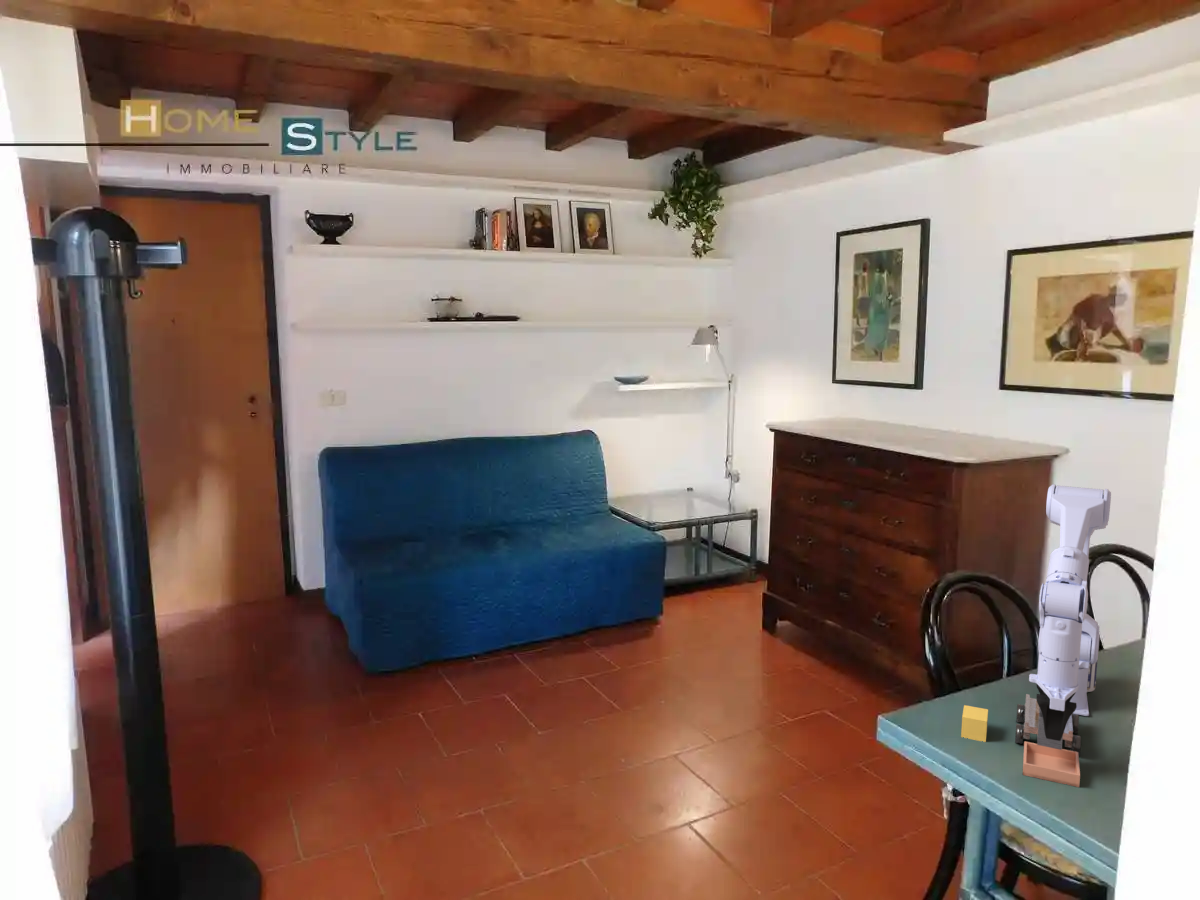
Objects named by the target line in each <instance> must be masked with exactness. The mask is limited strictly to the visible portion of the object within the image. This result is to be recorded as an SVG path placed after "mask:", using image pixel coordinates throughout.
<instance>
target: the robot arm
mask: <svg viewBox="0 0 1200 900" xmlns="http://www.w3.org/2000/svg"><path fill="white" fill-rule="evenodd" d="M1111 499H1112V491H1110V490H1109V488H1104V489H1101V488H1093V487H1091V488H1089V487H1082V486H1081V487H1080V486H1067V485H1056V484H1054V483H1053V484H1051V485H1050V486H1049V487H1048V489H1047V494H1046V507H1045V508H1046V509H1045V513H1046V516H1047V518H1048V520H1049V522H1050V523H1051V524H1054V525H1056V526H1059V547H1057V548H1055V549H1054V550H1053V551H1051V553H1050V554H1049V560H1048V566H1047V572H1046V579H1045V583H1044V582H1042V583H1041V585H1040V590H1039V600H1038V601H1039V602H1038V610H1039V627H1040V628H1039V634H1038V642H1037V644H1038V645H1037V649H1038V662H1037V663H1038V664H1037V673H1036V674H1035V673H1030V674H1029V675H1028V676H1029V678H1028V681H1029V682H1030V683H1034V684H1036V688H1037V691H1038V693H1036V698H1035V699H1036V700H1037V703H1038V705H1039V707H1040V709H1041V712H1042V716H1043V722H1044V731H1045V736H1046V738H1047V739H1052V740H1057V741H1060V740H1061V738H1062V736H1063V733H1064V730H1065V727H1066V724H1067V721H1068V719H1069V718H1070V716H1071V715H1072V714H1075V715H1079V716H1085V717H1089V716H1090V712H1089V704H1088V703H1089V702H1088V696H1087V693H1088V692H1087V683H1088V671H1089V665H1090V664H1094V663H1096V662H1097V663H1098V661H1097V658H1098V657H1099V649H1100V648H1099V646H1100V625H1099V623H1098V621H1096V620H1095V619H1094V617H1093V618H1092V616H1090V615H1089V614H1088V613H1087V611H1088V601H1089V600H1088V599H1089V592H1088V574H1089V565H1090V559H1089V555H1090V554H1089V553H1090V544H1091V537H1092V536H1093V534H1094V533H1095V531H1098V530H1105V529H1106V527H1107V526H1108V524H1109V522H1110V512H1111V501H1112V500H1111Z"/></svg>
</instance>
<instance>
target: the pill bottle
mask: <svg viewBox="0 0 1200 900" xmlns="http://www.w3.org/2000/svg"><path fill="white" fill-rule="evenodd" d="M1098 660H1099V659H1098V658H1097V662H1096V663H1094V664H1090V665H1089V671H1088V683H1087V693H1089V692H1094V691H1095V690H1096V687H1097V685H1096V684H1097V673H1098Z"/></svg>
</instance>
